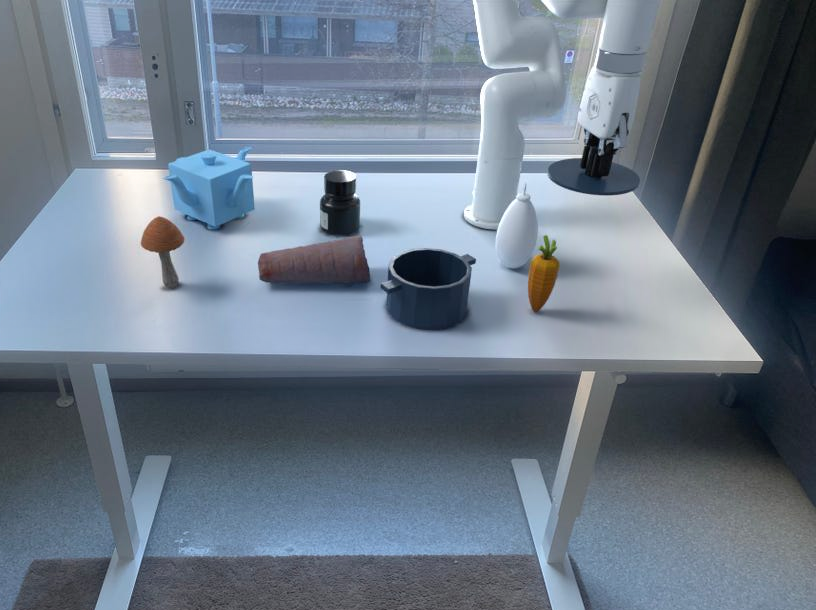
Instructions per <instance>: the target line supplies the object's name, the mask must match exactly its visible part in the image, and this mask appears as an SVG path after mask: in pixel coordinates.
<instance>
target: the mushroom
mask: <svg viewBox="0 0 816 610" xmlns="http://www.w3.org/2000/svg"><path fill="white" fill-rule="evenodd" d="M185 239H186V238H185V235H183V233H182V231H181V230H180V228H179V227H178V226H177V225H176V224H175V223H173V222H172V221H171V220H169V219H168V218H166V217H163V216H160V215H158V216H156V217H154V218H153V219H152V220H151V221H150V222H149V223H148V224H147V226H146V227H145V229H144V231H143V232H142V236H141V240H140V246H141V247H142V248H143V249H144V250H146V251H149V252H150V253H156V254H158V257H159V260H160V265H161V277H162V284H163V285H164V287H165V288H166V289H169V290H170V289H171V290H172V289H175V288H177V287H178V286H179V280H180V277H179V275H178V273H177V271H176V268H175V266H174V264H173V261H172V256H171V253H170V252H172V251H176V250H177V249H179V248H180V247H182V245H184V243H185V241H186V240H185Z"/></svg>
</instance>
